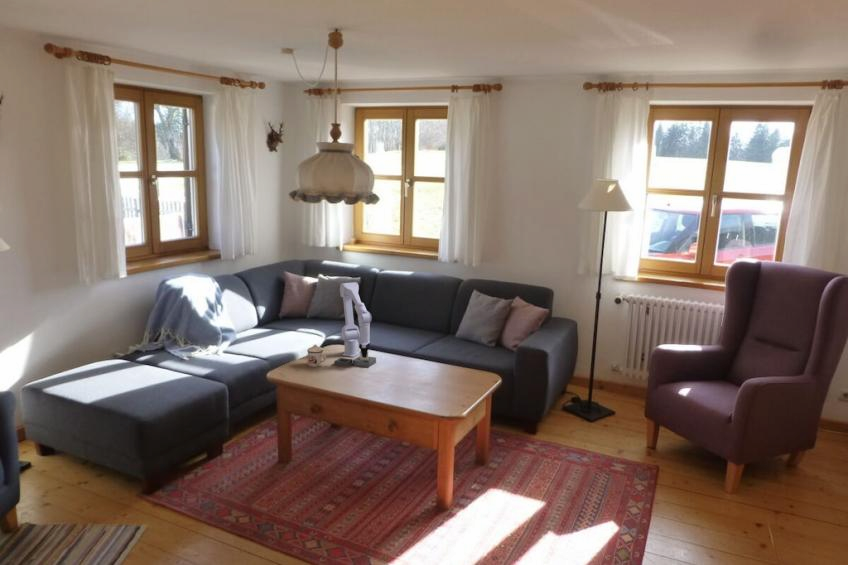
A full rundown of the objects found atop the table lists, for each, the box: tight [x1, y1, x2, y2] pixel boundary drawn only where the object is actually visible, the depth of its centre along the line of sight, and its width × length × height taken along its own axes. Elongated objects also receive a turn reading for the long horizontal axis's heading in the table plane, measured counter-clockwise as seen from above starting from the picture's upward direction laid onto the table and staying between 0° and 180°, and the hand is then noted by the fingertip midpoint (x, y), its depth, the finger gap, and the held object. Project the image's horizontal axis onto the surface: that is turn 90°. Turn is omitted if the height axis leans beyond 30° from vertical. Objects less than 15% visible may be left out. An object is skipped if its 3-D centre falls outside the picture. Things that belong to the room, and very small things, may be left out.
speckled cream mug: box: [307, 344, 327, 368], centre depth 351 cm, size 12×9×12 cm
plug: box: [359, 350, 369, 361], centre depth 355 cm, size 3×4×7 cm, turn 91°
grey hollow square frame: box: [333, 357, 354, 368], centre depth 354 cm, size 7×8×2 cm
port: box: [352, 355, 377, 369], centre depth 356 cm, size 10×10×3 cm
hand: (364, 356), depth 355 cm, fingers closed on plug, 3 cm apart
